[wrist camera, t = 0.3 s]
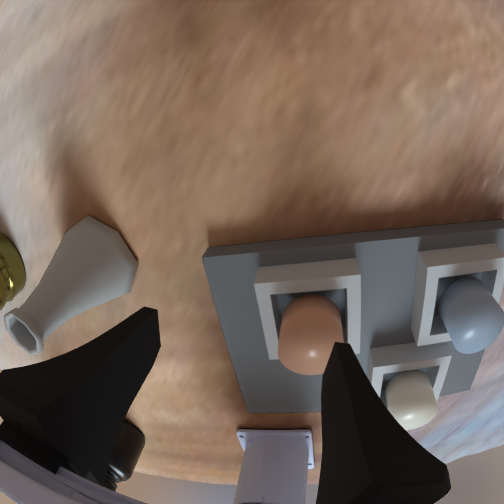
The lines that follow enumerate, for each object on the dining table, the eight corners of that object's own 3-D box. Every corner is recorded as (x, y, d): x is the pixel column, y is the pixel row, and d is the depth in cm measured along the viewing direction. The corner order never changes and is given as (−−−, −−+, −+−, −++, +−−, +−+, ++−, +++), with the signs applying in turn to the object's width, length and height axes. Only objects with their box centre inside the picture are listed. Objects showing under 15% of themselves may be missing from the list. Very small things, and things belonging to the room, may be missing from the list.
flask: (55, 255, 25) (-20, 319, 16) (87, 197, 22) (-10, 258, 13) (113, 311, 26) (51, 391, 17) (154, 263, 23) (81, 354, 14)
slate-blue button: (479, 319, 17) (496, 348, 15) (434, 327, 18) (447, 358, 15) (489, 273, 16) (510, 299, 13) (442, 280, 17) (459, 309, 14)
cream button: (424, 396, 21) (431, 425, 18) (382, 403, 22) (387, 433, 19) (433, 366, 20) (443, 397, 17) (387, 373, 20) (393, 405, 18)
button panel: (465, 378, 24) (475, 405, 21) (250, 400, 28) (244, 429, 25) (502, 219, 17) (527, 239, 14) (208, 247, 22) (192, 273, 19)
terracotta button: (341, 338, 20) (344, 372, 17) (285, 342, 20) (281, 376, 18) (339, 291, 18) (344, 324, 15) (278, 296, 19) (273, 329, 16)
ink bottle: (76, 408, 37) (39, 470, 26) (108, 401, 33) (66, 476, 23) (124, 447, 39) (96, 508, 29) (161, 445, 36) (132, 517, 26)
